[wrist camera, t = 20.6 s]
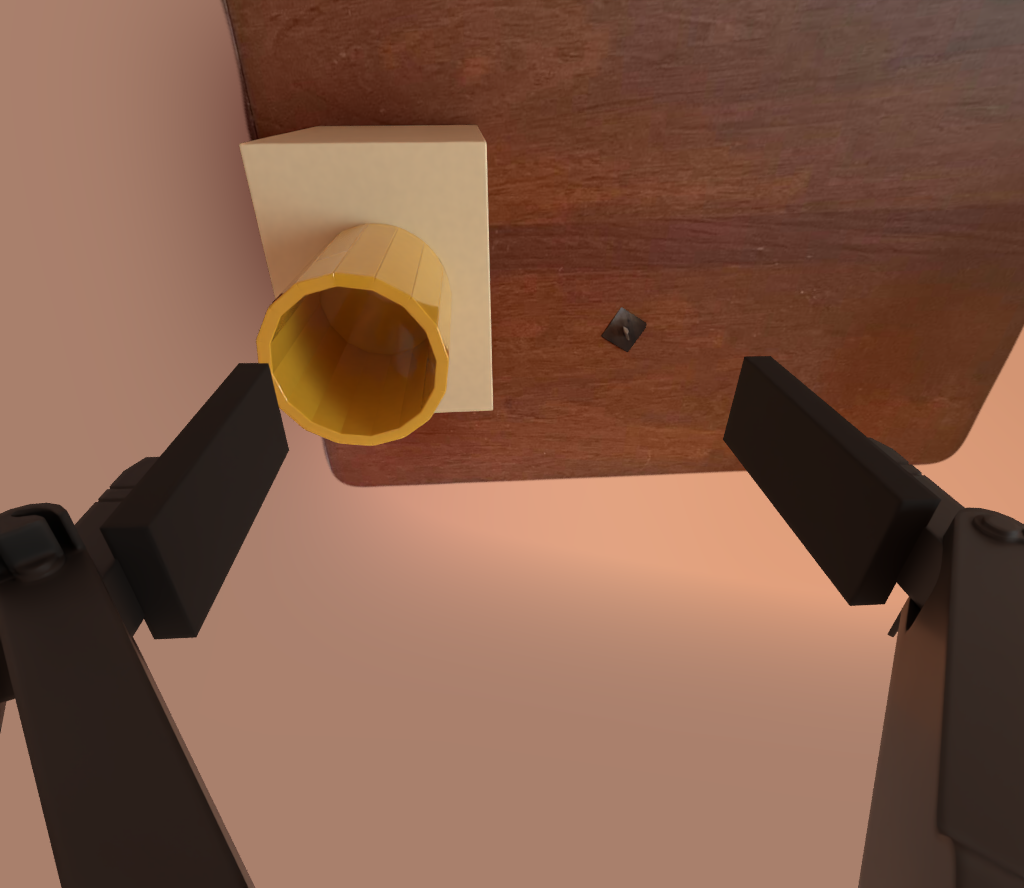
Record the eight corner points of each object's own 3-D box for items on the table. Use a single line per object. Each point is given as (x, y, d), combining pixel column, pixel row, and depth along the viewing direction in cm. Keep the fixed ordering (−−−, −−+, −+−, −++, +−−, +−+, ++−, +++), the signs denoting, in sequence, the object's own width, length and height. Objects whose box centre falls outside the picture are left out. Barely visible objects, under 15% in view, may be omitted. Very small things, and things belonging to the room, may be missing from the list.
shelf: (316, 126, 38) (237, 143, 24) (477, 124, 39) (486, 141, 25) (349, 322, 45) (303, 418, 32) (483, 318, 46) (493, 410, 33)
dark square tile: (601, 336, 48) (603, 340, 47) (621, 307, 47) (624, 310, 45) (627, 352, 48) (630, 357, 47) (648, 324, 47) (651, 328, 46)
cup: (282, 283, 28) (215, 354, 20) (385, 191, 26) (353, 230, 18) (381, 381, 31) (355, 473, 23) (478, 305, 29) (484, 379, 22)
